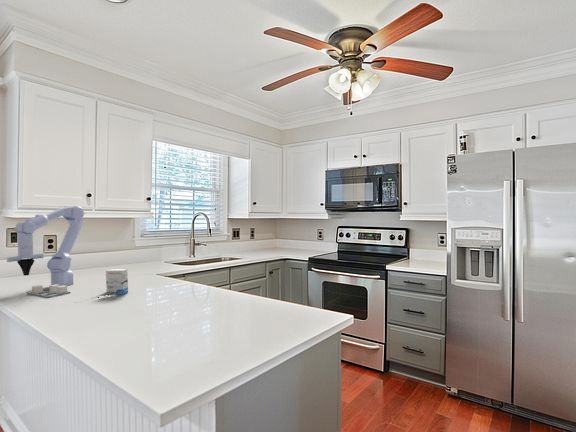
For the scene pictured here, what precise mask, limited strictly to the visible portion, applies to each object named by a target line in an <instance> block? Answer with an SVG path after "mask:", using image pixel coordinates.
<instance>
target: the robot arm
mask: <svg viewBox="0 0 576 432" xmlns="http://www.w3.org/2000/svg"><path fill="white" fill-rule="evenodd" d="M61 217H63V218H64V220H65V221H66V222H67V223H68V224H69V226H68V229H67V231H66V232H65V235H64V237H63V239H62V242H61V243H60V246H59V248H58V251H57V252H56V253H54V254H53V255H52V257H51V258H50V259H49V260H48V262H47V264H46V266H47V268H48V269H49V273H50V285H55V284H58V285H60V286H63V285H64V286H67V287H68V286H72V285H74V273H73V271H72V270H71V269H70V268H71V261H72V256H71V255H70V254H71V252H72V250H73V247H74V245H75V242H76V240H77V239H78V236H79V234H80V231H81V229H82V227H83V220H84V217H85V212H84V209H83V207H81V206H79V205H74V206H71V205H70V206H67V205H65V206H63V207H60V208H57V209H55V210H53V211H51V212H49V213H47V214H45V215H43V214H36V215H34V217H32V218H26V219H25V221H18V222H17V224H15V226H14V227H13V228H14V231H15V233H17V234H16V235H17V254H18V255H16V256H10V257H9V256H8V257H6V262H7V263H12V262H16V263H17V264H18V265H19V267H20V269H21V270H22V274H23V276H26V277H27V276H30V271H31V268H32V266H33V265H34V263H35V260H37V259H44V253H43V254H42V253H39V254H34V239H33V238H34V236H33V235H34V233H35V231H36V230H39V229H40V228H42V227H45V226H47V225H48V224H49V222H50V221H53V220H55V219H58V218H61Z"/></svg>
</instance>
